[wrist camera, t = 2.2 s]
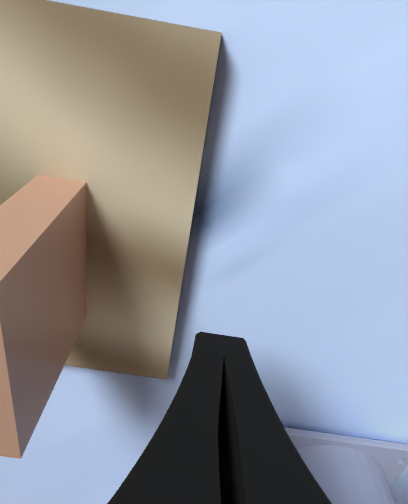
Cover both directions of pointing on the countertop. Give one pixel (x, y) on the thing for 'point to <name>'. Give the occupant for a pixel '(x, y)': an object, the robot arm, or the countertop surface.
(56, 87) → the board
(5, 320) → the tile
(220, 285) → the countertop surface
